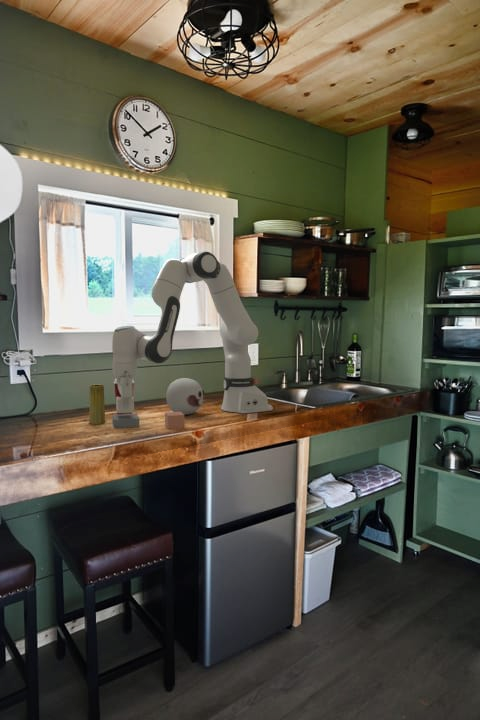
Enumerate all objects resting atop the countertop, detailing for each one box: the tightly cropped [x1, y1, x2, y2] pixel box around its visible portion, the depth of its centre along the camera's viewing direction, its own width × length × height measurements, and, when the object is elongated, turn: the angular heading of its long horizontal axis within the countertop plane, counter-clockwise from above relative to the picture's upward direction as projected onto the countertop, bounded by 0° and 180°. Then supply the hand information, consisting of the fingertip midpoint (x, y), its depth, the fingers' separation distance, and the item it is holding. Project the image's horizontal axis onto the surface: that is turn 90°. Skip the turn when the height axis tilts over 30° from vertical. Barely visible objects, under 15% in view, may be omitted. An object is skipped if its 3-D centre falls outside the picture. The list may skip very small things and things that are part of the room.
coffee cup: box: [113, 378, 135, 415], centre depth 200 cm, size 8×8×15 cm
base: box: [111, 412, 140, 429], centre depth 185 cm, size 9×9×3 cm
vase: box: [88, 383, 107, 425], centre depth 187 cm, size 6×6×14 cm
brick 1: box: [115, 395, 135, 414], centre depth 185 cm, size 6×6×5 cm
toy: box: [165, 377, 205, 416], centre depth 204 cm, size 15×15×15 cm
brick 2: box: [164, 411, 185, 430], centre depth 183 cm, size 6×6×5 cm
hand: (125, 406), depth 185 cm, fingers closed on brick 1, 6 cm apart
